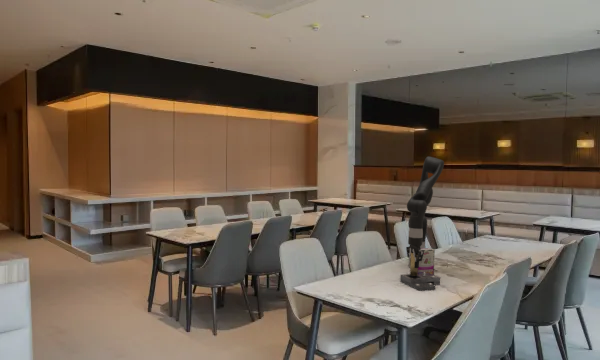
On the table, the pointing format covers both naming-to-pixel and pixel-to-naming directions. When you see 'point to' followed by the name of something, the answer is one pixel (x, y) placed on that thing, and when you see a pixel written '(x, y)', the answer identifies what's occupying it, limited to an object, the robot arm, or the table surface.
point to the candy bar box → (427, 261)
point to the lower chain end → (419, 285)
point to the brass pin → (413, 266)
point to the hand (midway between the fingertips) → (414, 267)
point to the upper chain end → (421, 278)
